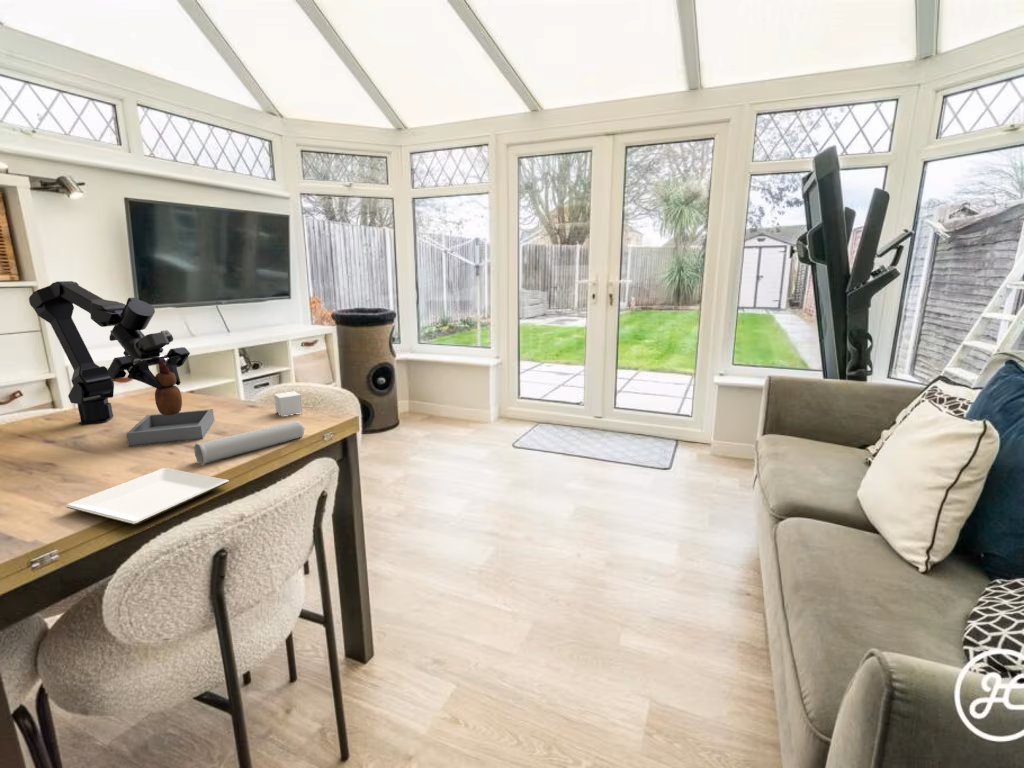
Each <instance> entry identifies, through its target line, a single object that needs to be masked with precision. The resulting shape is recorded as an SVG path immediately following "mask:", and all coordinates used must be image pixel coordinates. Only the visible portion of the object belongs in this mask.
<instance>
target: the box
mask: <svg viewBox="0 0 1024 768" xmlns="http://www.w3.org/2000/svg"><path fill="white" fill-rule="evenodd" d="M213 421H214V422H215V416H214V409H211V408H210V409H209V408H208V409H200V410H199V409H197V410H189V411H188V410H187V411H180V412H179V413H177V414H174V415H163V414H161V413H153V414H147V415H145V416H144V417H143V418H141V420H140V421H139V422H137V424H135V425H133V427H132V428H131V429H130V430H128V431H127V432H126V434H125V435H126V439H127V444H128V447H129V448H132V447H140V446H141V445H142V446H150V445H149V444H152V445H158V443H161V444H168V442H170V443H177V442H178V441H180V442H187V441H186V440H189V441H196V440H195V439H198V440H203V439H204V438H205V436H206V435H207V433H208V432H207V431H209V430H210V428H211V427H212V425H213V424H214V422H213ZM212 423H213V424H212ZM210 426H211V427H210ZM208 429H209V430H208ZM205 434H206V435H205ZM203 437H204V438H203Z"/></svg>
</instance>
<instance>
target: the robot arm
mask: <svg viewBox="0 0 1024 768" xmlns="http://www.w3.org/2000/svg"><path fill="white" fill-rule="evenodd" d="M28 302H29V305H30V306H31V308H32V309H33V310H34V311H35V313H36V315H37V316H38V317H39V318H41V319H42V320H44V321H46V322H47V323H49V324H50V325H51V326H50V327H51V328H52V330H53V332H54V334H55V335H56V338H57V340H58V341H59V344H60V345H61V347H62V349H63V351H64V353H65V355H66V357H67V359H68V361H69V363H70V366H71V367H72V368H73V373H72V376H71V379H70V381H71V384H72V387H71V390H70V392H69V394H68V396H67V397H68V400H69V402H70V404H75V405H77V408H78V409H77V410H78V413H79V419H80V421H79V422H78V425H88V424H98V422H100V423H106V421H107V422H108V421H110V420H111V419H113V417H114V412H113V408H112V403H111V402H109V399H110V398H114V389H115V382H114V380H117V379H122V378H123V379H124V378H125V377H126V375H127V373H128V375H127V379H129V380H131V379H133V380H136V381H138V382H141V383H144V384H146V385H148V386H150V387H153V388H154V389H161V388H162V386H161V384H160V382H159V381H158V380H157V379H156V377H155V376H156V375H154V374H153V372H152V371H151V370H150V367H152V366H157V365H158V366H159V361H158V358H160V360H161V363H162V360H163V362H164V364H166V367H168V369H169V372H172V373H174V374H175V376H176V384H175V385H176V386H179V385H181V383H182V382H181V379H180V375H179V372H178V371H179V370H178V368H180V367H182V366H183V365H184V364H185V362H186V360H187V359H188V358H189V356H190V355H191V353H190V352H189V350H188V349H187V348H186V346H184V347H183V346H181V347H176V348H174V347H173V348H169V350H168V352H167V354H161V353H163V352H164V348H163V347H165V346H169V345H170V343H171V342H173V341H174V336H173V335H172V333H170V331H169V330H166V329H165V330H161V331H160V332H155V333H149V334H146V335H145V334H144V333H143V332H142V331H143V330H145V329H147V327H148V325H149V323H150V322H151V320H152V318H153V316H154V315H155V313H156V312H155V310H156V309H155V308H154V306H153V305H152V304H150V303H148V302H146V301H143V300H140V299H139V298H138V297H128V298H127V301H126V304H125V303H123V302H119V301H115V300H108V299H104V298H102V297H100V296H99V295H96V294H95V293H93V292H92V291H90V290H88V289H85V288H84V287H82V286H81V285H79V283H77V282H76V281H72V280H70V281H69V280H67V281H66V280H63V281H55V282H52V283H51V284H50V285H48V286H45V287H41V288H39V289H37V290H35V291H33V292H32V294H30V295H29V297H28ZM74 305H75V306H77V307H79V308H81V310H84V312H85V311H86V312H87V313H88V314H90V320H92V321H93V322H95V324H97V325H98V326H100V327H102V328H106V327H113V328H111V329H112V330H110V334H109V337H108V338H109V341H111V342H112V341H117V342H118V343H119V344H120V346H121V347H122V348H123V349H124V351H123V355H124V356H117V357H114V358H113V360H112V361H111V364H110V365H109V367H108V368H107V367H106V366H105V365H103V366H99V365H98V364H96V363H95V361H94V359H93V357H92V355H91V353H90V351H89V350H88V347H87V346H86V344H85V341H84V339H83V337H82V336H81V334H80V332H79V330H78V328H77V326H76V323H75V321H74V320H73V318H72V316H73V313H74V309H75V306H74Z"/></svg>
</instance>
